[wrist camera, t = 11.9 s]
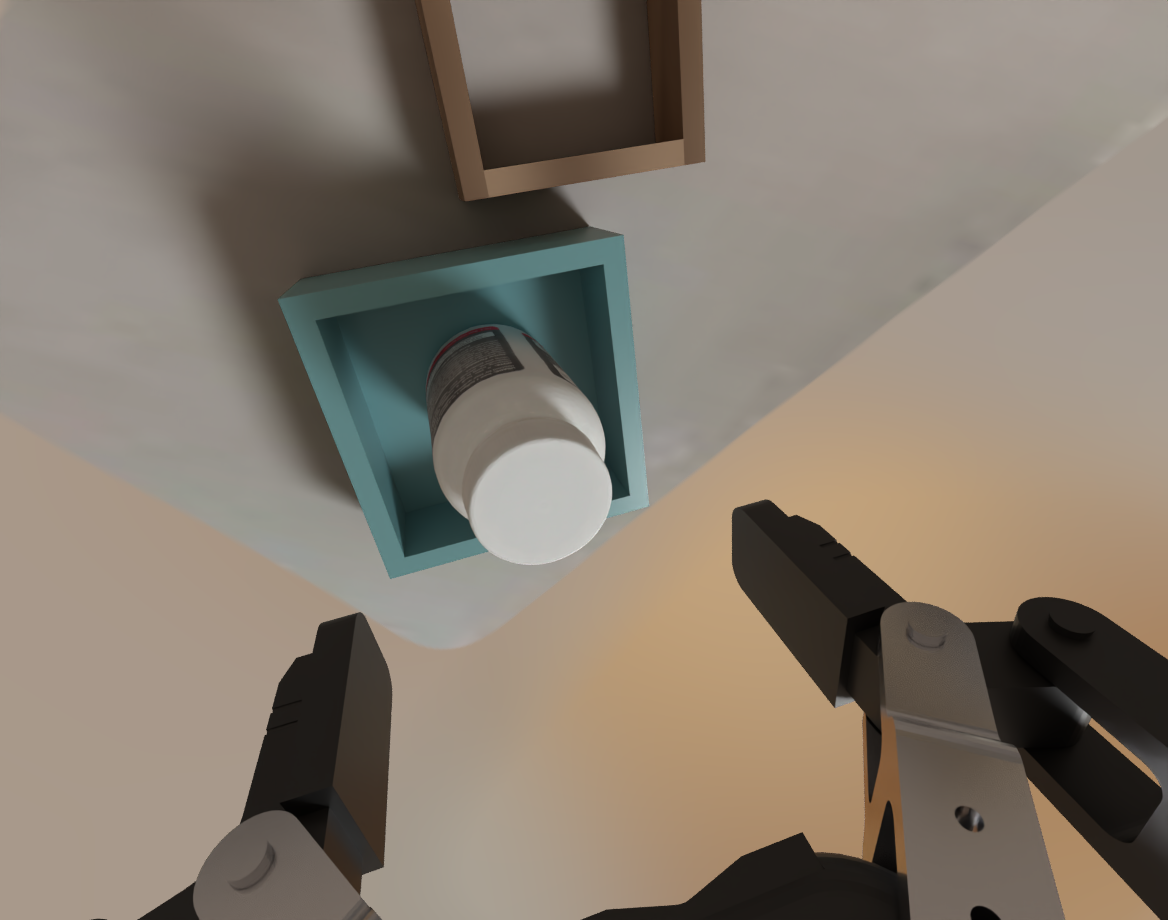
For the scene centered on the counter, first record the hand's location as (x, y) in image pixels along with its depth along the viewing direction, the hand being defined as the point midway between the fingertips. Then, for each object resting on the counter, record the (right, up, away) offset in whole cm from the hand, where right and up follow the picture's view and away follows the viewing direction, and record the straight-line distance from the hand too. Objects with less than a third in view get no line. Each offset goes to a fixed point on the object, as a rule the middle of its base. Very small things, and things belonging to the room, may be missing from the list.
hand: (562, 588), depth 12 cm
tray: (-4, +6, +12) cm, 14 cm away
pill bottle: (-3, +6, +11) cm, 13 cm away
